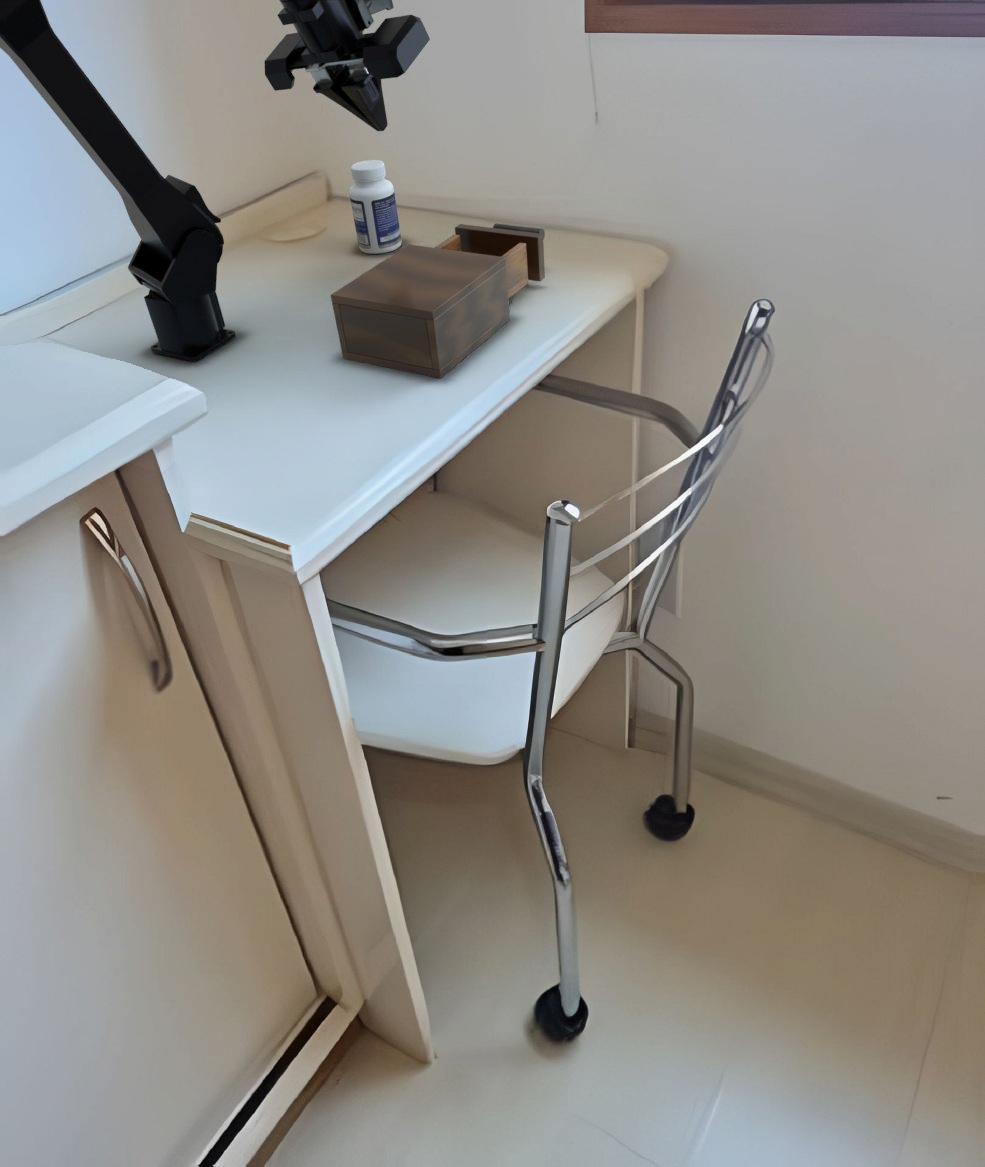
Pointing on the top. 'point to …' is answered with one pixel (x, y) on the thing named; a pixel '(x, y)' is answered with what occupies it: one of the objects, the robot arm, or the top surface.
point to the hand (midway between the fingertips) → (383, 128)
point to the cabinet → (422, 309)
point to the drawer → (504, 249)
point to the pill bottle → (374, 208)
